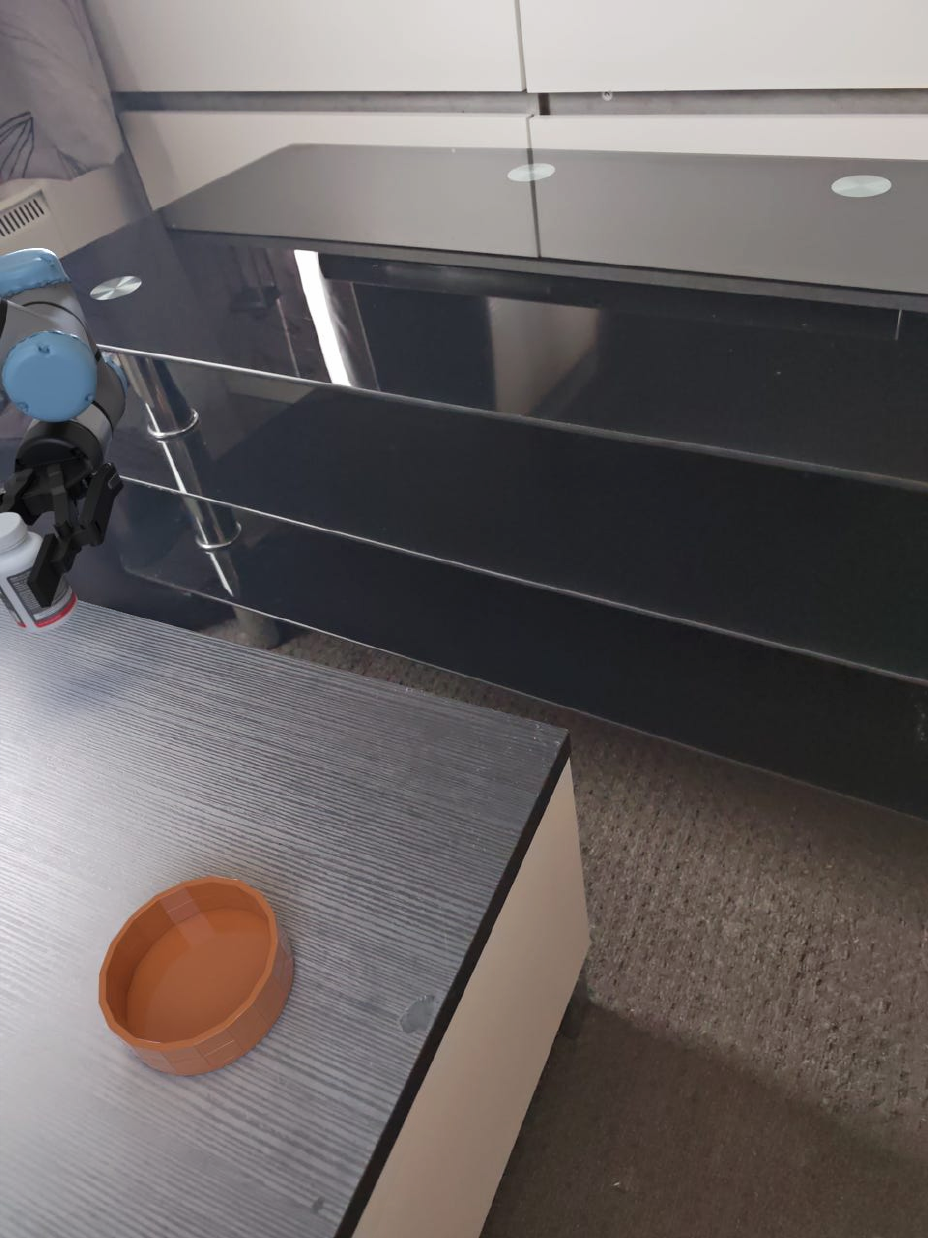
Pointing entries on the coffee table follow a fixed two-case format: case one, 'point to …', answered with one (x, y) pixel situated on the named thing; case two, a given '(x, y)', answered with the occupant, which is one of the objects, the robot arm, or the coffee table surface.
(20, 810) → the coffee table surface
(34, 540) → the pill bottle
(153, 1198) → the coffee table surface
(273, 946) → the orange round bowl
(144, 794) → the coffee table surface
